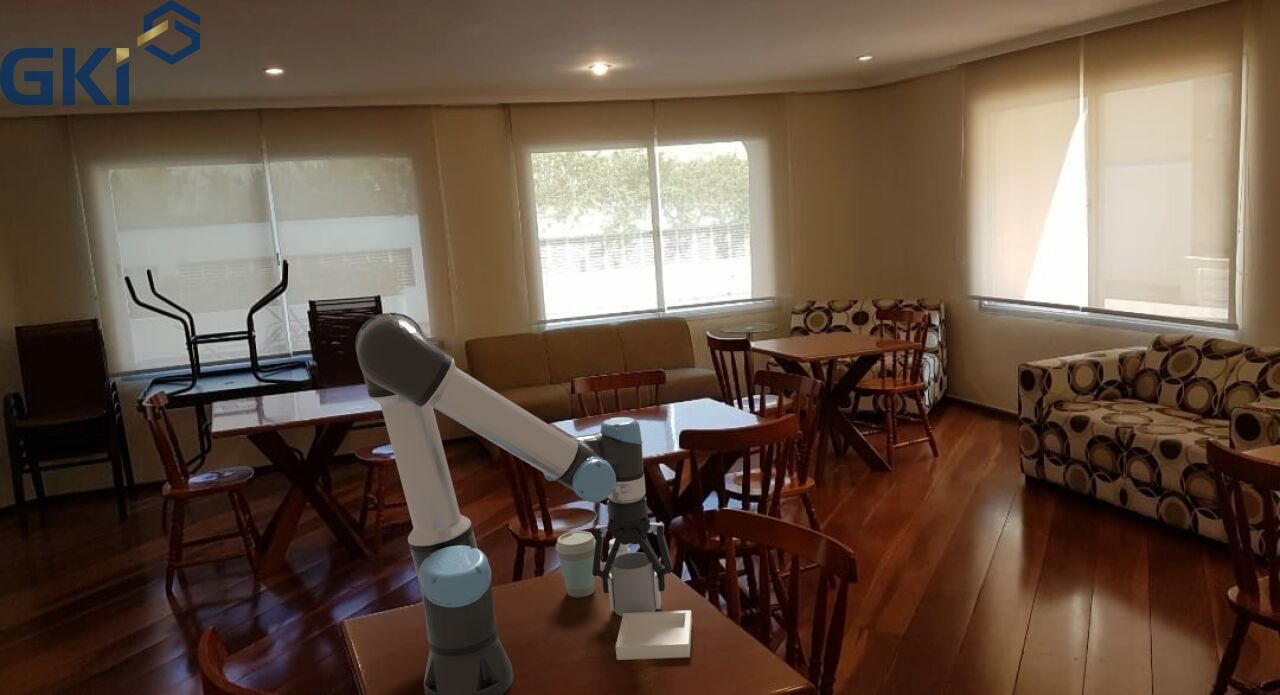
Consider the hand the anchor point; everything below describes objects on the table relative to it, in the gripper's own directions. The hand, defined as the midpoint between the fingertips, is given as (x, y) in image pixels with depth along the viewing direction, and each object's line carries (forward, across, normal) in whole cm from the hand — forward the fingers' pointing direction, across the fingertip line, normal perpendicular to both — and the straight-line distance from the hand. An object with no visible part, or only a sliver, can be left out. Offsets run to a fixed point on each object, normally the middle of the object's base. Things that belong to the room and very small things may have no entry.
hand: (635, 606), depth 179 cm
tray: (+1, +5, -12) cm, 13 cm away
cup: (+1, 0, 0) cm, 1 cm away
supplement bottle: (+1, -5, +16) cm, 17 cm away
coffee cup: (+1, -13, +10) cm, 16 cm away
